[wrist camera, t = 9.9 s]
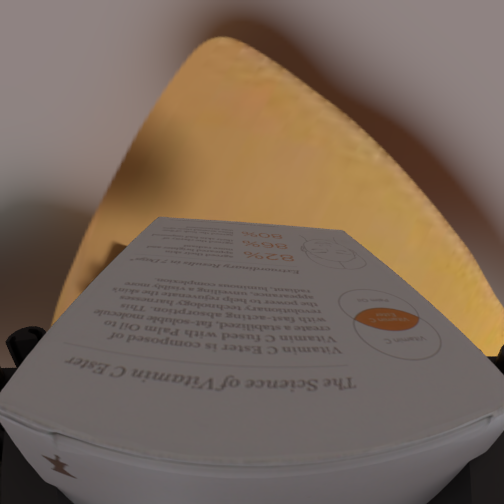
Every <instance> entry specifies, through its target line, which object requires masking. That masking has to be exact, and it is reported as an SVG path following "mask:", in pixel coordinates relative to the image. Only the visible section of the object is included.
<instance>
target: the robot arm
mask: <svg viewBox="0 0 504 504" xmlns="http://www.w3.org/2000/svg"><path fill="white" fill-rule="evenodd" d="M45 334H46V331H45V330H44V329H43V328H40V327H36V326H35V327H32V326H31V327H26V328H22V329H20V330H17V331H15V332H14V333H13V334H11V335H10V336H9V337H8V339H7V340H6V345H7V347H8V349H9V352H10V354H11V356H12V358H13V360H14V363H15V365H16V367H17V368H1V367H0V392H1V391H2V389H3V388H4V387H5V385H6V384H7V383H8V381H9V380H10V379H11V377H12V376H13V375H14V373H15V372H16V370H17V369H18V368H19V366H20V365H21V364H22V362H23V361H24V360H25V358H26V357H27V356H28V355H29V353H30V352H31V351H32V350H33V349H34V347H35V346H36V345H37V343H38V342H39V341H40V340H41V338H42V337H43V336H44V335H45ZM479 350H480V349H479ZM480 351H481V350H480ZM481 352H482V351H481ZM487 358H488V359H489V360H490V361H491V362H492V363H493V364H494V365H495V366H496V367H497V368H498V369H499V371H500V372H501V373H502V374H503V375H504V345H503V346H502V347H501V349H500V352H499V354H498V356H495V357H487ZM0 504H74V503H73V502H72V501H71V500H70V499H69V498H67V497H66V496H65V495H64V494H63V493H62V492H61V491H60V490H59V489H58V488H57V487H56V486H54V485H51V484H49V483H47V482H45V481H44V480H43V479H42V478H41V476H40V475H39V474H38V473H37V472H36V471H35V469H34V468H33V467H32V466H31V465H30V463H29V462H28V461H27V460H26V459H25V457H24V456H23V454H22V453H21V452H20V450H19V449H18V447H17V446H16V445H15V443H14V442H13V441H12V439H11V438H10V436H9V435H8V433H7V432H6V430H5V429H4V427H3V426H2V424H1V423H0ZM427 504H504V431H503V432H502V433H501V435H500V436H499V437H498V438H497V440H496V441H495V442H494V443H493V444H492V445H491V447H490V448H489V449H488V450H487V451H486V452H485V453H483V454H481V455H479V456H478V457H476V458H474V459H472V460H470V461H469V462H468V463H467V464H466V465H465V466H464V468H463V469H462V470H461V471H460V472H459V473H458V474H457V475H456V476H455V477H454V478H453V479H452V480H451V481H450V482H449V483H448V484H447V485H446V486H445V487H444V488H443V489H442V490H441V491H440V492H439V493H438V494H437V495H436V496H435V497H434V498H432V499H431V500H430V501H429V502H428V503H427Z"/></svg>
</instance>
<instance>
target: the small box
mask: <svg viewBox="0 0 504 504" xmlns="http://www.w3.org/2000/svg"><path fill="white" fill-rule="evenodd" d="M0 423H1V424H2V426H3V427H4V429H5V430H6V432H7V433H8V435H9V436H10V438H11V439H12V441H13V442H14V443H15V445H16V446H17V447H18V449H19V450H20V452H21V453H22V454H23V456H24V457H25V459H26V460H27V461H28V462H29V463H30V465H31V466H32V467H33V468H34V469H35V471H36V472H37V473H38V474H39V475H40V476H41V478H42V479H43V480H44V481H45V482H47V483H49V484H51V485H54V486H56V487H57V488H58V489H59V490H60V491H61V492H62V493H63V494H64V495H65V496H66V497H67V498H69V499H70V500H71V501H72V502H73V503H74V504H427V503H428V502H429V501H430V500H431V499H432V498H434V497H435V496H436V495H437V494H438V493H439V492H440V491H441V490H442V489H443V488H444V487H445V486H446V485H447V484H448V483H449V482H450V481H451V480H452V479H453V478H454V477H455V476H456V475H457V474H458V473H459V472H460V471H461V470H462V469H463V468H464V466H465V465H466V464H467V463H468V462H469V461H470V460H472V459H474V458H476V457H478V456H479V455H481V454H483V453H485V452H486V451H487V450H488V449H489V448H490V447H491V445H492V444H493V443H494V442H495V441H496V440H497V438H498V437H499V436H500V435H501V433H502V432H503V431H504V375H503V374H502V373H501V372H500V371H499V369H498V368H497V367H496V366H495V365H494V364H493V363H492V362H491V361H490V360H489V359H488V358H487V357H486V356H485V355H484V354H483V353H482V352H481V351H480V350H479V349H478V348H477V347H476V346H475V345H474V344H473V343H472V342H471V341H470V340H469V339H468V338H467V337H466V336H465V335H464V334H463V333H462V332H461V331H460V330H459V329H458V328H457V327H456V326H454V325H453V324H452V323H451V322H450V321H449V320H448V319H447V318H446V317H445V316H444V315H443V314H442V313H441V312H439V311H438V310H437V309H436V308H435V307H434V306H433V305H432V304H431V303H430V302H429V301H427V300H426V299H425V298H424V297H423V296H422V295H421V294H419V293H418V292H417V291H416V290H415V289H414V288H412V287H411V286H410V285H409V284H408V283H407V282H406V281H404V280H403V279H402V278H401V277H400V276H399V275H397V274H396V273H395V272H394V271H393V270H392V269H390V268H389V267H388V266H387V265H385V264H384V263H383V262H382V261H380V260H379V259H378V258H377V257H375V256H374V255H373V254H372V253H371V252H369V251H368V250H367V249H366V248H364V247H363V246H362V245H361V244H359V243H358V242H357V241H356V240H354V239H353V238H352V237H351V236H349V235H348V234H347V233H346V232H344V231H342V230H332V229H321V228H309V227H297V226H285V225H273V224H259V223H246V222H233V221H217V220H200V219H184V218H169V217H158V218H157V219H156V220H154V221H153V222H152V223H151V224H150V225H149V226H148V227H147V228H146V229H145V230H144V231H143V232H141V233H140V234H139V235H138V236H137V237H136V238H135V239H134V240H133V241H132V242H131V243H130V244H129V245H128V246H127V247H126V248H125V249H124V250H123V251H122V252H121V253H120V254H119V255H118V256H117V257H116V258H115V259H114V260H113V261H112V262H111V263H110V264H109V265H108V266H107V267H106V268H105V269H104V270H103V271H102V272H101V273H100V274H99V275H98V276H97V277H96V278H95V279H94V280H93V281H92V282H91V283H90V284H89V286H88V287H87V288H86V289H85V290H84V291H83V292H82V293H81V294H80V295H79V296H78V298H77V299H76V300H75V301H74V302H73V303H72V304H71V305H70V306H69V307H68V309H67V310H66V311H65V312H64V313H63V314H62V315H61V316H60V318H59V319H58V320H57V321H56V322H55V323H54V324H53V326H52V327H51V328H50V329H49V330H48V331H47V333H46V334H45V335H44V336H43V337H42V338H41V340H40V341H39V342H38V343H37V345H36V346H35V347H34V349H33V350H32V351H31V352H30V353H29V355H28V356H27V357H26V358H25V360H24V361H23V362H22V364H21V365H20V366H19V368H18V369H17V370H16V372H15V373H14V375H13V376H12V377H11V379H10V380H9V381H8V383H7V384H6V385H5V387H4V388H3V389H2V391H1V392H0Z"/></svg>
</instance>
